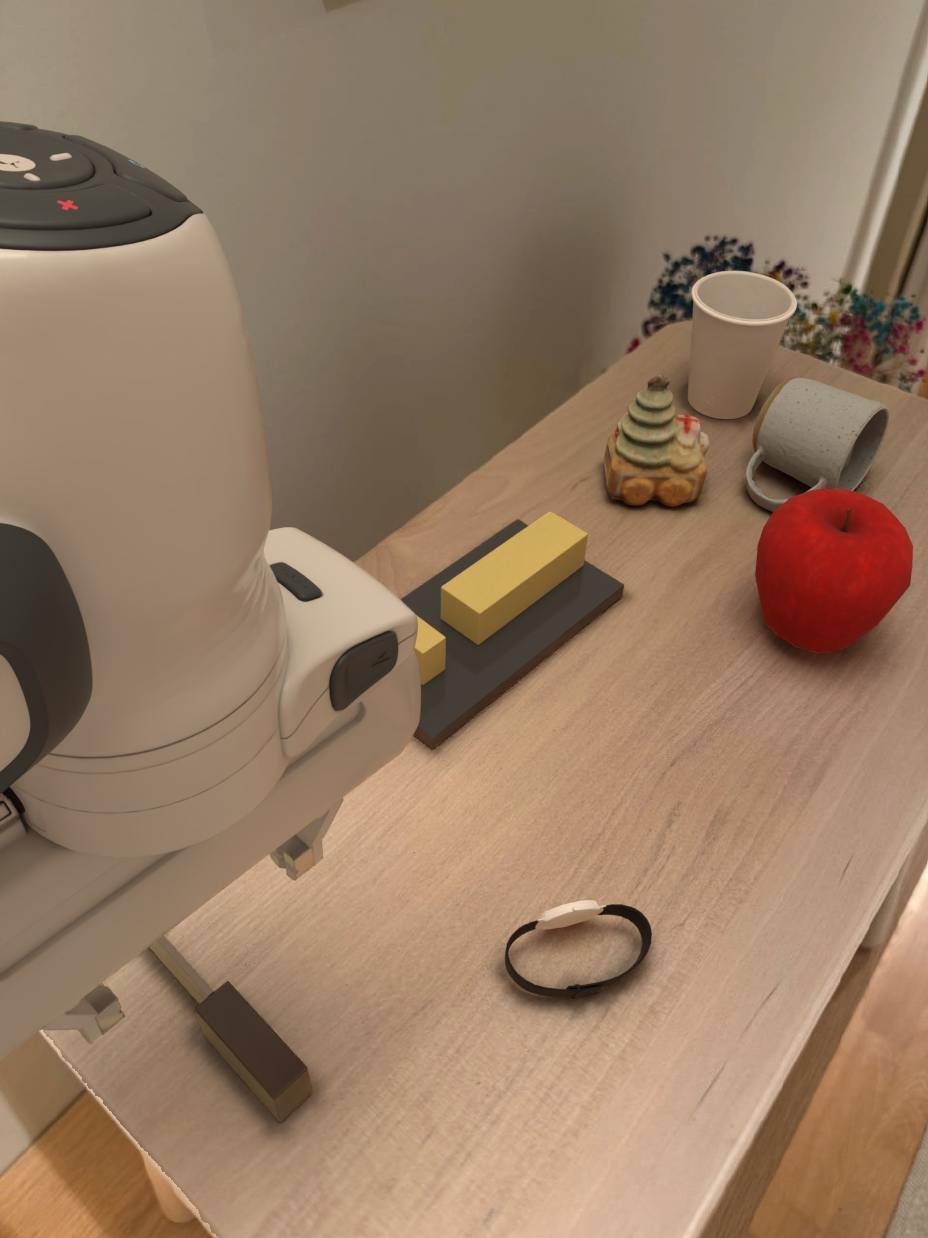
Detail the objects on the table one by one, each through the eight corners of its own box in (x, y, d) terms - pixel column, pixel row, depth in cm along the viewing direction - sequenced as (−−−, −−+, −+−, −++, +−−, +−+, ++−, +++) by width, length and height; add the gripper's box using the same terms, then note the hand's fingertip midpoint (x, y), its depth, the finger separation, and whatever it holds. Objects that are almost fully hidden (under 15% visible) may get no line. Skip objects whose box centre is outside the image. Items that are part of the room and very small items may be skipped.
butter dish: (432, 750, 65) (432, 738, 64) (324, 664, 70) (323, 652, 69) (622, 596, 75) (624, 584, 74) (516, 530, 79) (517, 518, 79)
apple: (869, 701, 68) (926, 578, 61) (723, 657, 71) (759, 534, 63) (887, 602, 75) (940, 480, 67) (752, 565, 77) (788, 443, 70)
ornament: (693, 462, 86) (717, 353, 79) (709, 510, 82) (737, 400, 74) (595, 463, 85) (611, 354, 78) (607, 512, 81) (625, 402, 74)
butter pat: (422, 685, 67) (422, 653, 65) (385, 656, 69) (384, 623, 66) (445, 669, 68) (446, 637, 66) (408, 640, 70) (407, 608, 67)
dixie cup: (681, 366, 96) (701, 262, 89) (774, 384, 94) (803, 280, 87) (663, 416, 90) (683, 309, 83) (761, 437, 88) (791, 329, 81)
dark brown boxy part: (280, 1124, 49) (273, 1100, 47) (133, 954, 55) (121, 926, 53) (313, 1093, 50) (308, 1067, 48) (165, 929, 56) (155, 900, 54)
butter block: (478, 646, 69) (479, 613, 67) (439, 618, 71) (440, 586, 69) (584, 565, 75) (588, 533, 73) (546, 542, 77) (550, 510, 75)
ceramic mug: (783, 431, 89) (806, 351, 84) (873, 472, 85) (903, 391, 80) (715, 490, 84) (734, 409, 78) (808, 537, 80) (835, 455, 74)
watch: (628, 906, 58) (638, 871, 55) (660, 986, 55) (672, 953, 52) (492, 936, 56) (495, 901, 54) (516, 1020, 53) (521, 988, 51)
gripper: (-162, 1014, 24) (-3, 1207, 34) (454, 593, 35) (441, 830, 45) (-271, 847, 27) (-97, 1068, 37) (329, 506, 38) (342, 746, 48)
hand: (202, 934), depth 41 cm, fingers open, 8 cm apart
